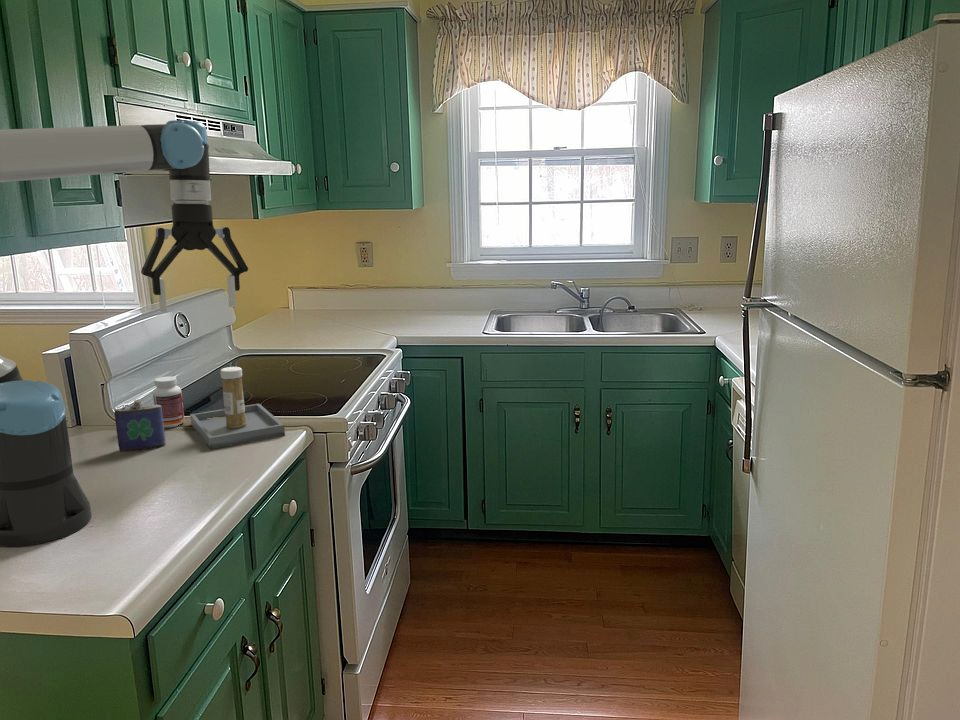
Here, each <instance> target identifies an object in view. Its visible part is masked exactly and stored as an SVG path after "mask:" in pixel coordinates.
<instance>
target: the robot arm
mask: <svg viewBox="0 0 960 720" xmlns="http://www.w3.org/2000/svg"><path fill="white" fill-rule="evenodd" d="M209 148H210V145H209V139H208V132H207V127H206V125H205V124H204V123H202V122H200V121H197V120H196V121H193V120H183V119H182V120H181V119H180V120H175V119H174V120H168V121H167V122H166V123H162V124H161V123H160V124H141V125H139V124H134V125H131V124H130V125H128V124H127V125H101V126H75V127H74V126H71V127H45V128H44V127H42V128H41V127H39V128H15V129H14V128H12V129H0V183H9V182H21V181H22V182H23V181H35V180H47V179H59V178H61V179H62V178H70V177H82V176H83V177H84V176H98V175H109V174H118V173H132V172H143V171H146V172H147V171H163V172H167V171H168V178H169V189H170V192H169V193H170V200H171V201H172V202H174V203H172V205H171V215H172V216H171V218H172V219H171V220H172V227H171V228H164V227H156V229H155V238H154V241H153V244H152V246H151V248H150V250H149V253H148V255H147V256H146V260H145V262H144V264H143V266H142V268H141V271H140V272H141V274H142V276H145V277H148V278H150V279H151V282H152V283H151V284H152V285H151V286H152V293H153V294H154V295H155V296H158V300H159V301H158V303H159V311H160V312H162V313H167V297H166V285H165V279H164V278H163V277H161V276H162V275H163V274H164V273H165V271H166V270H167V269H168V267H169V266H170V265H171V264H172V262H173V261H175V259H176V257H178V255H179V253H181V252H182V251H183V250H185V251H194V250H198V251H205V250H206V249H207V250H208V251H209V252H210V253H212V255H213V256H214V257H215V258H216V259H217V261H219V262H220V263H221V264H222V265H223V267H224V268H226V270H228V271H229V273H230V274H227V275H226V277H227V294H228V307H230V308H237V300H236V298H237V297H236V292H238V291H239V292H240V289H241V285H240V275H241V274H243V273H246V272H248V270H249V267H248V265H247V263H246V262H245V260H244V258H243V257H242V255H241V253H240V251H239V249H238V247H237V246H236V244H235V242H234V241H233V239H232V236H231V230H230V228H229V227H228V226H222V227H220V228H219V227H218V228H215V227H214V221H213V220H214V217H213V205H211V204H210V203H209V202H211V201H212V192H211V191H212V190H211V178H210V177H211V175H210V153H209ZM216 235H217V236H218V237H219V238H220V239H221V240H223V244H224V246H226V248H227V250H228V253H229V254H230V255H231V257H232V259H233V261H234V263H235V264H236V266H237V267H236V266H235V265H234V263H232V261H231V260H230V259H228V258H227V256H226V255H225V254H224V253H223V252H222V251H221V250H220V248H218V246H217V245H216V244H215V242H213V239H214V238H215V237H216ZM169 236H171V237H172V238H173V239H174V240H175V242H174V244H173V245H172V246H171V248H170V250H169V251H168V252H167V253H166V255H164V256H163V258H162V259H161V261H160V262H159V263H158V264H157V266H156V267H155V268H154V269H153V267H154V265H155V263H156V260H157V259H158V256H159V254H160V251H161V249H162V247H163V245H164V242H165V240H167V239H168V238H169ZM66 409H67V408H66V405H65V403H64V400H63V394H62V393H61V391H60V390H59V388H58V387H57V386H55V385H54V384H52V383H49V382H45V381H41V380H37V381H34V380H31V379H27V380H26V379H25V380H24V379H23V377H22V375H21V373H20V371H19V368H18V365H17V363H16V362H15V361H14V360H13V359H9V358H6V357H4V356H2V355H1V354H0V547H25V546H26V547H27V546H33V545H38V544H44V543H47V542H51V541H55V540H57V539H61V538H64V537H66V536H69V535H70V534H71V535H72V534H73V533H75V532H77V531H79V530H80V529H82V528H84V527H85V526H86V525H87V524H89V522H91V520H92V509H91V503H90V501H89V499H88V497H87V496H86V493H85V492H84V490H83V488H82V487H81V484H80V483H79V481H78V480H77V478H76V476H75V473H74V468H73V460H72V459H73V458H72V451H71V446H70V439H69V438H70V437H69V432H68V431H69V430H68V425H67V417H66V416H67V415H66V411H67V410H66Z"/></svg>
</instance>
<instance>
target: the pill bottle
mask: <svg viewBox="0 0 960 720" xmlns="http://www.w3.org/2000/svg"><path fill="white" fill-rule="evenodd" d="M177 384H178V380H177V377H176V376H173V375H172V376H161V377H157V378H155V379H154V385H155V388H154V389H153V391H152V398H153V405H161V406H162V415H163V424H164V429H170V428H176V427H179V426H180V425H179V424H180V422H181V420H182V419H183V418H184V419H185V412H184V403H183V401H184V400H183V394H182V393H183V392H182V389H181V387H180V386H178V385H177ZM178 425H179V426H178Z"/></svg>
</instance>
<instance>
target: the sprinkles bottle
mask: <svg viewBox="0 0 960 720" xmlns="http://www.w3.org/2000/svg"><path fill="white" fill-rule="evenodd" d="M220 378H221V382H222V383H221V384H222V396H223V398H222V399H223V406H224V408H223V409H225V414H226V427H228V428H232V429H235V428H241V427H244V426H245V425H246V424H247V423H246V419H245V406H246V405H245V397H244V388H243V379H242V378H243V369H242V368H241V367H239V366H229V367H224V368H221V369H220Z"/></svg>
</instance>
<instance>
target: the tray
mask: <svg viewBox="0 0 960 720" xmlns="http://www.w3.org/2000/svg"><path fill="white" fill-rule="evenodd" d="M189 415H190V425H191V424H192V425H191V427H192V428H193V429H194V430H195V432H197V433H196V434H198V436H199V437H200V438H201V440H202V441H203V442H204V443H205V445H206V446H207V447H208V448H209V449H210V450H214V449H219V448H226V447H230V446H237V445H242V444H246V443H252V442H253V443H254V442H258V441H263V440H269V439H274V438H280V437H285V436H286V430H285V424H284V423H283V422H281V421H280V420H279V419H278V418H277V417H275V415H273V414H272V412H270V411H268V410H267V408H265V407H264V406H263V405H262V404H261V403H255V404H254V403H253V404H249V405H245V418H246V423H247V424H246V425H245V426H244V427H241V428H235V429H232V428H228V427H226V414H225V408H223V409H216V410H211V411H210V410H208V411H205V412H198V413H192V414H189ZM213 417H224V418H225V419H207V418H213ZM248 418H249V419H248Z"/></svg>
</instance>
